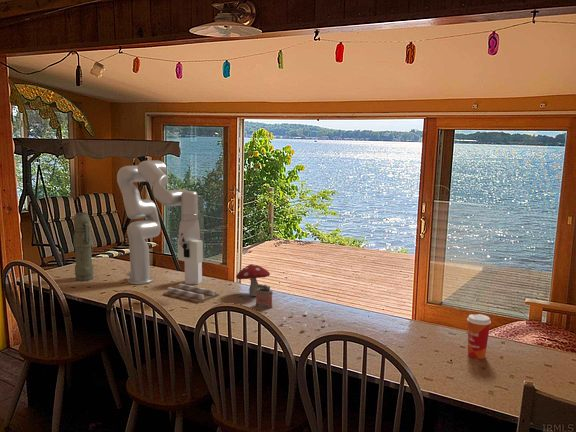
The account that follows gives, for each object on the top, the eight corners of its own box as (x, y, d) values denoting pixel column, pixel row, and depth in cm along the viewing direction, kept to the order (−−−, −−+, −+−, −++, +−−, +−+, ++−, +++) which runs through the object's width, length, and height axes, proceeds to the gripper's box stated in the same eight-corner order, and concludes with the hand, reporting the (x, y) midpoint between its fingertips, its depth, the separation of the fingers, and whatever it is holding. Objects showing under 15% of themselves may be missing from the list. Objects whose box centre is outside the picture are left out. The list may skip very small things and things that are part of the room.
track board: (163, 295, 237) (163, 288, 237) (184, 288, 249) (184, 282, 248) (198, 303, 226) (198, 296, 225) (218, 295, 237) (218, 289, 237)
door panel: (177, 259, 236) (177, 239, 235) (184, 258, 240) (184, 237, 238) (197, 263, 230) (196, 242, 228) (203, 261, 234) (203, 240, 232)
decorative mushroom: (231, 298, 233) (231, 267, 231) (243, 289, 249) (243, 259, 246) (263, 301, 229) (263, 269, 227) (273, 291, 244) (274, 262, 242)
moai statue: (85, 275, 270) (82, 211, 265) (98, 278, 263) (95, 213, 258) (70, 278, 263) (67, 212, 258) (83, 282, 256) (79, 215, 251)
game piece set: (321, 335, 191) (321, 325, 190) (272, 328, 198) (272, 318, 197) (334, 318, 209) (334, 310, 208) (289, 312, 216) (289, 304, 215)
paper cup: (461, 351, 177) (463, 313, 175) (481, 351, 177) (484, 313, 175) (470, 361, 169) (473, 321, 167) (492, 360, 170) (495, 321, 167)
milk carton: (202, 281, 262) (201, 245, 259) (198, 284, 255) (197, 248, 252) (188, 280, 263) (188, 245, 260) (184, 284, 256) (184, 247, 253)
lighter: (273, 306, 222) (273, 285, 221) (270, 309, 219) (270, 287, 218) (257, 304, 226) (257, 282, 224) (254, 306, 222) (254, 284, 221)
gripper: (195, 215, 241) (196, 252, 243) (170, 219, 227) (171, 258, 229) (207, 216, 237) (208, 254, 239) (182, 220, 223) (183, 260, 225)
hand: (190, 255), depth 234 cm, fingers closed on door panel, 4 cm apart
